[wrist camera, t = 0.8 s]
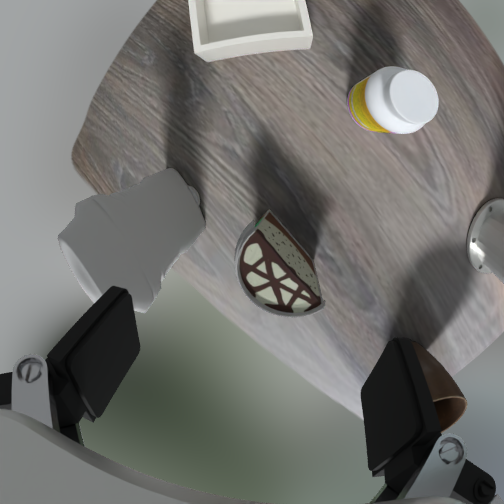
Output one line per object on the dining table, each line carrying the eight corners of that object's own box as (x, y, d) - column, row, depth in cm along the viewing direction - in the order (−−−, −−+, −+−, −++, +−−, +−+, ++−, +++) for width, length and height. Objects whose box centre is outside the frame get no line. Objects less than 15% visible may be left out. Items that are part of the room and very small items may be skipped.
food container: (226, 229, 37) (206, 263, 28) (261, 200, 35) (250, 226, 26) (285, 291, 40) (282, 337, 31) (320, 268, 38) (327, 311, 29)
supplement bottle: (364, 141, 30) (403, 149, 18) (335, 94, 28) (361, 75, 17) (405, 118, 28) (459, 118, 16) (378, 72, 26) (421, 48, 14)
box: (293, -27, 21) (292, -45, 16) (310, 48, 26) (313, 36, 21) (198, -12, 23) (185, -27, 18) (207, 62, 28) (194, 53, 24)
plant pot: (404, 386, 47) (420, 448, 32) (349, 373, 46) (358, 446, 32) (451, 336, 40) (482, 399, 26) (397, 315, 39) (428, 391, 25)
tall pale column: (217, 227, 37) (142, 338, 18) (192, 238, 39) (108, 346, 19) (179, 158, 34) (56, 206, 14) (155, 173, 35) (32, 232, 15)
